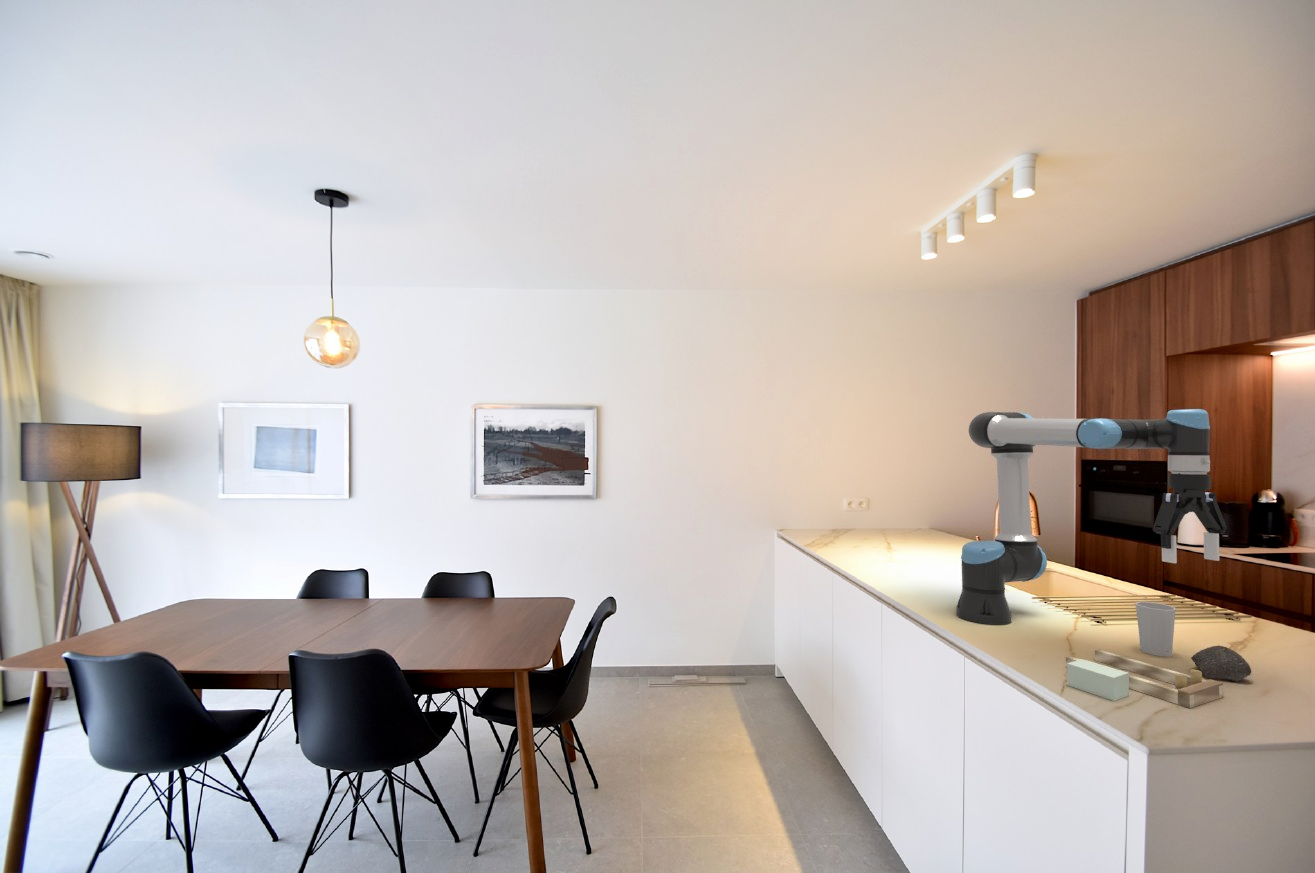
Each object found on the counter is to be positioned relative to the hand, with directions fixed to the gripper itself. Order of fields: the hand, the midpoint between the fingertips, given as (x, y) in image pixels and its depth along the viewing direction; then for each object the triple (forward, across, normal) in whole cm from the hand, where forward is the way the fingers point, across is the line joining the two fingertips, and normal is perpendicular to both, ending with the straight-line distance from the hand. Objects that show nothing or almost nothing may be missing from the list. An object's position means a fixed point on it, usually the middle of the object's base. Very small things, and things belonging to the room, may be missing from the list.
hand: (1190, 561), depth 139 cm
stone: (+26, +1, -5) cm, 27 cm away
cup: (+26, +4, +11) cm, 28 cm away
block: (+26, -34, -4) cm, 43 cm away
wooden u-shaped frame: (+26, -20, -3) cm, 33 cm away
